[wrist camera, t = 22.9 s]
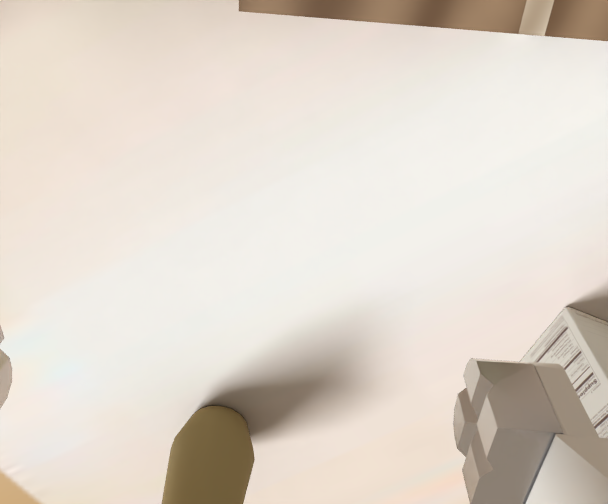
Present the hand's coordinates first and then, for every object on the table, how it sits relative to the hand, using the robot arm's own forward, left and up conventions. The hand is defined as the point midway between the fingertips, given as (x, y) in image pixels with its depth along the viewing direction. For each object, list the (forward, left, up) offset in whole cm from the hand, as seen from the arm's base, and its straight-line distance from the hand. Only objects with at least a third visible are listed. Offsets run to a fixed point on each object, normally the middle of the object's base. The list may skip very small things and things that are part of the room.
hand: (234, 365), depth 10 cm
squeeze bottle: (-6, -39, -33) cm, 52 cm away
